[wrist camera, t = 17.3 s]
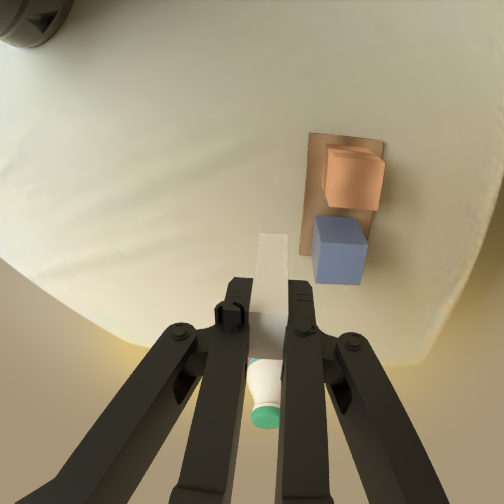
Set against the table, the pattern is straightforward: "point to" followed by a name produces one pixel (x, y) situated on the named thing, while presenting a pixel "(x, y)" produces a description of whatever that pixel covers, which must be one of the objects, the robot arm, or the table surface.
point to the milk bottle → (265, 391)
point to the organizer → (341, 182)
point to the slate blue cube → (338, 250)
